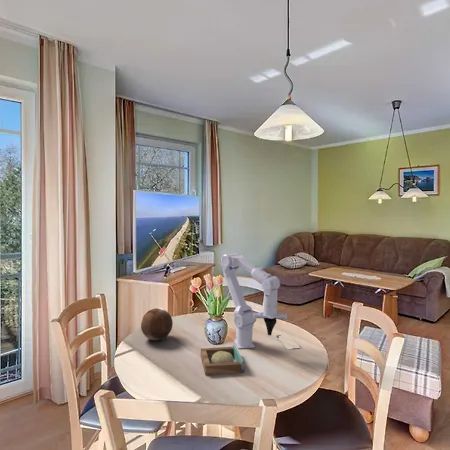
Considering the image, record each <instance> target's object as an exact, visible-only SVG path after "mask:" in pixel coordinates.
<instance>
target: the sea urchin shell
mask: <svg viewBox="0 0 450 450" xmlns="http://www.w3.org/2000/svg"><path fill="white" fill-rule="evenodd" d="M210 362H211V363H226V362H234V356H232V355H231V354H230V353H229V352H224V351H218V352H216V353H215V354H213V355H212V358H210Z"/></svg>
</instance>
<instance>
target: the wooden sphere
mask: <svg viewBox="0 0 450 450" xmlns="http://www.w3.org/2000/svg"><path fill="white" fill-rule="evenodd" d="M140 321H141V323H140V329H141V332H142V334H143V335H144V337H145V338H147V339H149V340H151V341H154V342H155V341H161V340H164V339H165V338H167V337H168V336H169V335H170V333H171V332H172V329H173V318H172V316H171V315H170V313H169V312H168V310H166V309H164V308H160V307H157V308H151V309H150V310H148V311H147V312H145V314H144V315H143V317H142V319H141V320H140Z"/></svg>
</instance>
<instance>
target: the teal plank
mask: <svg viewBox="0 0 450 450" xmlns="http://www.w3.org/2000/svg"><path fill="white" fill-rule="evenodd" d="M232 347H233V359H235V362H240V363H241V373H244V372H245V360H244V359H243V358H242V356H241V354H240V352H239V350H238V347H237V346H236V344H232Z"/></svg>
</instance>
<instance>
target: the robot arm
mask: <svg viewBox="0 0 450 450" xmlns="http://www.w3.org/2000/svg"><path fill="white" fill-rule="evenodd" d="M220 265H221V268H222V272H223V273H222V274H223V277H224V279H225V282H226V286H227V287H228V290H229V294H230V296H231V299H232V302H233V304H234V307H235V309H234V311H233V312H232V315H233V322H234V324H235V326H236V329H235V339H233V341H234V343H235V346H236V348H237V349H253V348H255V347H256V346H255V345H254V343H253V327H254V325H255V323H256V322H257V319H263V321H264V323H265V326H266V331H267V335H268V336H272V334H273V330H274V328H275V325H276V324H277V319H278V320H288V315H287V313H282V312H281V313H280V312H278V291H279V290H278V289H279V288H280V287H281V280H280V279H279V277H278V276H276V275H271V274H270V273H268V272H266V271H265V270H264V268H263V267H255V266H254V265H253V264H252V263H251V262H250V261H248V260H247V259H246V258H245V256H244V255H242V254H241V253H240V252H236V253H228V254H223V255H222V256H221V260H220ZM239 268H242V269H243V270H244V271H246V272H248V273H249V274H250V275H251V278H252V279H253V280H255V281H256V282H257V283H258V284H260V285H261V288H262V289H263V311H262V312H255V311H253V309H252V306H250V305H248V304H247V302H246V299H245V297H244V294H243V291H242V289H241V285H240V284H239V280H238V278H237V275H236V273H237V271H239Z"/></svg>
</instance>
